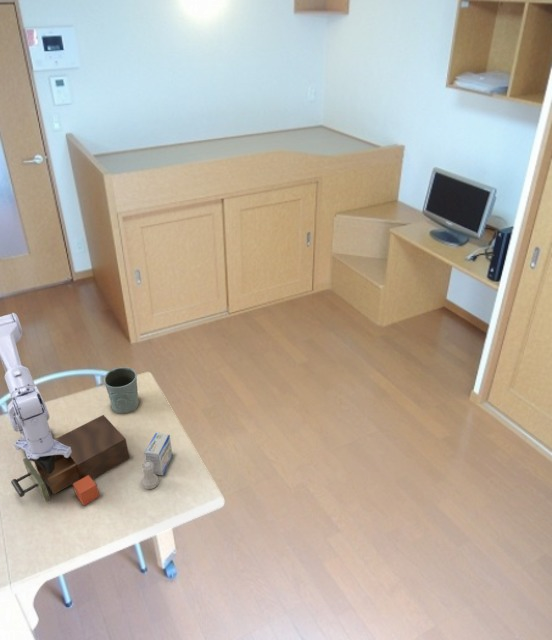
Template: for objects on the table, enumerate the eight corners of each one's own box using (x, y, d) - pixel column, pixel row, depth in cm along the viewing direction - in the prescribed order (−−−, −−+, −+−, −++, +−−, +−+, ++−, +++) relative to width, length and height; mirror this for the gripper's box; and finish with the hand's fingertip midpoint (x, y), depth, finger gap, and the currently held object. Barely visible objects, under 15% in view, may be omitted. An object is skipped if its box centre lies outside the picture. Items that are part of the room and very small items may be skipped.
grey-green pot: (127, 391, 180) (122, 363, 173) (148, 402, 175) (143, 374, 168) (103, 407, 173) (96, 378, 166) (124, 420, 168) (118, 391, 161)
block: (83, 505, 140) (80, 493, 138) (76, 495, 143) (72, 483, 140) (99, 496, 143) (96, 484, 140) (91, 486, 146) (88, 474, 143)
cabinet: (83, 484, 146) (77, 464, 142) (62, 457, 154) (56, 438, 150) (129, 458, 154) (125, 438, 150) (107, 433, 163) (103, 414, 158)
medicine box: (162, 476, 149) (159, 454, 144) (148, 473, 149) (144, 452, 145) (173, 455, 155) (169, 434, 151) (158, 453, 156) (155, 431, 151)
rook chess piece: (161, 479, 148) (158, 459, 143) (153, 491, 144) (150, 471, 140) (147, 475, 149) (144, 455, 145) (139, 487, 145) (135, 467, 141)
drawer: (27, 512, 138) (21, 496, 134) (10, 484, 145) (4, 468, 142) (93, 474, 148) (88, 459, 145) (73, 450, 156) (69, 435, 152)
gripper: (1, 440, 129) (16, 478, 136) (55, 448, 126) (67, 486, 134) (18, 420, 135) (31, 457, 142) (71, 428, 132) (81, 465, 140)
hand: (50, 470), depth 138 cm, fingers closed
